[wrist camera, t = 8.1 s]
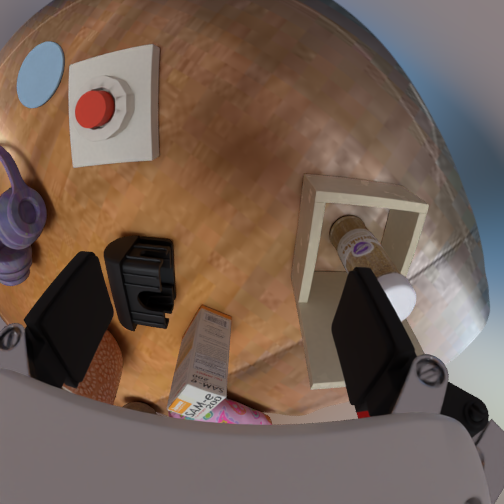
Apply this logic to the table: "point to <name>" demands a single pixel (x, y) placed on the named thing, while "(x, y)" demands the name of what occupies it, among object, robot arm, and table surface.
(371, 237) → the sprinkles bottle
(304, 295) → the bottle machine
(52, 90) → the coaster
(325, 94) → the table surface
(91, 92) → the release button
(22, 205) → the headphones
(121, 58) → the button block
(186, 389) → the supplement box
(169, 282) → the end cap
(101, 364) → the planter
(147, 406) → the decorative stone
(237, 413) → the pencil case
